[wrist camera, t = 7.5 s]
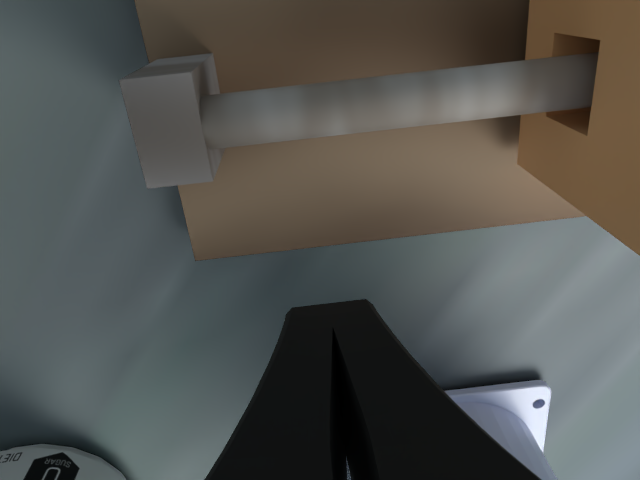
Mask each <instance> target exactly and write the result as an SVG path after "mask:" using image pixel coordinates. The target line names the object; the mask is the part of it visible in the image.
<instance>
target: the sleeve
mask: <svg viewBox="0 0 640 480" xmlns="http://www.w3.org/2000/svg"><path fill="white" fill-rule="evenodd" d="M594 52H599V55H598V62H597V69H596V77H595V84H594V91H593V98H592V106H591V107H586V108H577V109H568V110H559V111H550V112H542V113H533V114H524V115H521V118H520V131H519V144H518V157H517V164H518V165H519V166H520V167H522V168H523V169H524V170H526V171H527V172H528V173H530V174H531V175H532V176H534V177H535V178H536V179H538V180H539V181H541V182H542V183H543V184H545V185H546V186H547V187H549V188H550V189H551V190H553V191H554V192H555V193H557V194H558V195H559V196H561V197H562V198H563V199H565V200H566V201H567V202H569V203H570V204H571V205H573V206H574V207H575V208H577V209H578V210H579V211H581V212H582V213H583V214H585V215H586V216H587V217H589V218H590V219H591V220H593V221H594V222H595V223H597V224H598V225H599V226H601V227H602V228H603V229H605V230H606V231H607V232H609V233H610V234H611V235H613V236H614V237H615V238H617V239H618V240H619V241H621V242H622V243H623V244H625V245H626V246H627V247H629V248H630V249H632V250H633V251H634V252H636V253H637V254H638V255H640V0H530V2H529V15H528V28H527V41H526V54H525V60H531V59H540V58H549V57H558V56H567V55H576V54H585V53H594Z"/></svg>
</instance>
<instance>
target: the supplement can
mask: <svg viewBox="0 0 640 480" xmlns="http://www.w3.org/2000/svg"><path fill="white" fill-rule="evenodd" d="M0 480H126V478H125V477H124V475H123V474H122V473H121V472H120V471H119V470H117V469H116V468H115V467H113V466H112V465H110V464H109V463H108V462H106V461H105V460H103V459H102V458H101V457H98V456H95V455H93V454H90V453H87V452H84V451H82V450H79V449H76V448H73V447H67V446H58V445H49V444H36V445H29V446H21V447H14V448H11V449H9V450H5V451H0Z"/></svg>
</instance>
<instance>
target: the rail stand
mask: <svg viewBox="0 0 640 480" xmlns="http://www.w3.org/2000/svg"><path fill="white" fill-rule="evenodd" d="M134 1H135V5H136V10H137V14H138V18H139V22H140V27H141V31H142V35H143V40H144V44H145V48H146V52H147V57H148V61H149V64H148V65H146V66H144V67H142V68H140V69H138V70H137V71H135V72H133V73H131V74H129V75H127V76H125V77H124V78H122V79H120V80H119V83H120V87H121V91H122V95H123V99H124V102H125V106H126V110H127V114H128V118H129V121H130V125H131V129H132V133H133V137H134V140H135V144H136V148H137V152H138V156H139V159H140V163H141V167H142V171H143V175H144V179H145V182H146V186H147V189H150V188H159V187H168V186H177V185H178V189H179V194H180V198H181V202H182V206H183V211H184V215H185V219H186V223H187V228H188V232H189V236H190V241H191V245H192V249H193V253H194V258H195V261H199V260H208V259H216V258H225V257H234V256H243V255H251V254H260V253H269V252H278V251H286V250H295V249H304V248H312V247H321V246H330V245H339V244H347V243H356V242H365V241H373V240H382V239H391V238H400V237H408V236H417V235H426V234H435V233H443V232H452V231H461V230H469V229H478V228H487V227H496V226H504V225H513V224H522V223H530V222H539V221H548V220H557V219H565V218H574V217H583V216H586V215H585V214H583V213H582V212H581V211H579V210H578V209H577V208H575V207H574V206H573V205H571V204H570V203H569V202H567V201H566V200H565V199H563V198H562V197H561V196H559V195H558V194H557V193H555V192H554V191H553V190H551V189H550V188H549V187H547V186H546V185H545V184H543V183H542V182H541V181H539V180H538V179H536V178H535V177H534V176H532V175H531V174H530V173H528V172H527V171H526V170H524V169H523V168H522V167H520V166H519V165H518V164H517V157H518V144H519V131H520V118H521V115H524V114H533V113H542V112H550V111H559V110H568V109H577V108H586V107H591V106H592V98H593V91H594V84H595V77H596V69H597V62H598V55H599V52H594V53H585V54H576V55H567V56H558V57H549V58H540V59H531V60H525V54H526V41H527V28H528V15H529V2H530V0H134Z"/></svg>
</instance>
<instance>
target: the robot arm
mask: <svg viewBox="0 0 640 480" xmlns="http://www.w3.org/2000/svg"><path fill="white" fill-rule="evenodd" d="M550 398H551V389H550V387H549V386H548V384H547V383H546V382H545V381H543V380H532V381H524V382H515V383H507V384H498V385H490V386H481V387H473V388H465V389H456V390H448V391H443V390H442V388H441V387H440V386H439V385H438V384H437V383H436V382H435V381H434V380H433V379H432V378H431V377H430V376H429V374H428V373H427V372H426V371H425V370H424V369H423V368H422V367H421V366H420V365H419V363H418V362H417V361H416V360H415V359H414V358H413V357H412V356H411V354H410V353H409V352H408V351H407V350H406V349H405V347H404V346H403V345H402V344H401V342H400V341H399V340H398V339H397V338H396V336H395V335H394V334H393V333H392V331H391V330H390V329H389V327H388V326H387V325H386V323H385V322H384V321H383V319H382V318H381V316H380V315H379V313H378V312H377V311H376V309H375V307H374V306H373V304H371V303H370V302H369V301H368V300H366V299H363V300H354V301H346V302H337V303H328V304H320V305H311V306H303V307H294V308H291V310H290V311H289V312H288V313H287V314H286V317H285V321H284V325H283V328H282V331H281V334H280V337H279V339H278V342H277V344H276V347H275V349H274V352H273V354H272V357H271V359H270V361H269V364H268V366H267V368H266V370H265V372H264V374H263V376H262V378H261V380H260V383H259V385H258V387H257V389H256V391H255V393H254V395H253V397H252V399H251V401H250V403H249V405H248V407H247V409H246V410H245V412H244V414H243V416H242V417H241V419H240V421H239V423H238V425H237V426H236V428H235V430H234V432H233V433H232V435H231V437H230V439H229V441H228V442H227V444H226V446H225V448H224V449H223V451H222V453H221V454H220V456H219V458H218V459H217V461H216V462H215V464H214V466H213V467H212V469H211V470H210V472H209V474H208V475H207V477H206V478H205V480H347V465H346V457H347V461H348V466H349V470H350V475H351V479H352V480H558V479H557V477H556V475H555V474H554V472H553V470H552V468H551V467H550V465H549V463H548V461H547V459H546V458H545V456H544V454H543V450H544V442H545V435H546V428H547V420H548V413H549V406H550ZM538 399H539V400H538ZM536 400H538V401H536ZM534 401H535V402H534Z"/></svg>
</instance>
